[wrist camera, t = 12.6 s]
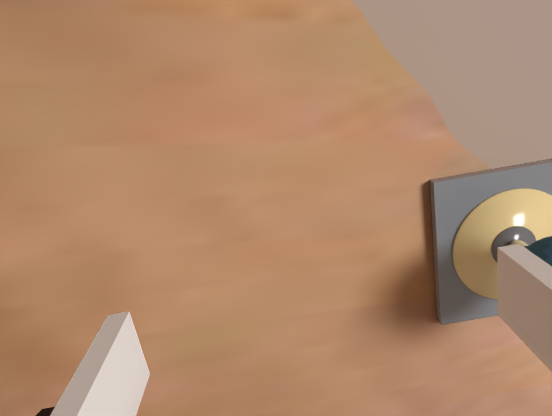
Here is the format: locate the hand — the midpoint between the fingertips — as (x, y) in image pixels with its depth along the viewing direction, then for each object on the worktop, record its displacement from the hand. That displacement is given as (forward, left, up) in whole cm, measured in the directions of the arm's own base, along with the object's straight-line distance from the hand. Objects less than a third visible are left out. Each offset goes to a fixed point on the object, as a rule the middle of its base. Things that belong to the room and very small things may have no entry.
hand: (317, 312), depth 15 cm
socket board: (+13, +22, -27) cm, 37 cm away
